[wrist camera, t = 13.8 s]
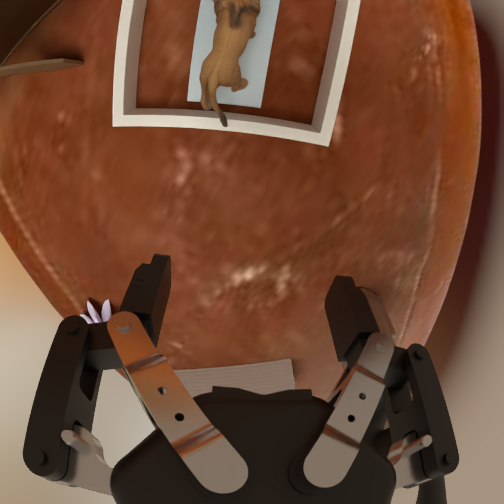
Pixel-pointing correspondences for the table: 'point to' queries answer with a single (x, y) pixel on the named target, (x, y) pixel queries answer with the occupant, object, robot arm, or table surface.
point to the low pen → (251, 69)
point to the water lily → (105, 313)
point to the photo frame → (25, 34)
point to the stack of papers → (240, 377)
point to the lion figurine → (227, 50)
